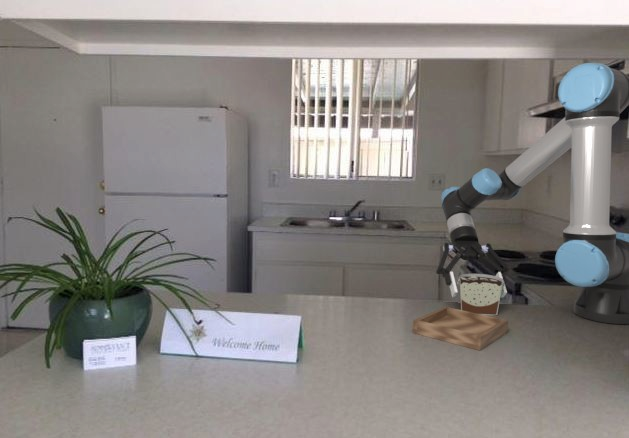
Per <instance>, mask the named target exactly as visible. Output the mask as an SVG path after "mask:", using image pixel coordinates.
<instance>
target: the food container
mask: <svg viewBox="0 0 629 438" xmlns="http://www.w3.org/2000/svg"><path fill="white" fill-rule="evenodd" d="M457 279H458V280H457V282H456V286H457V285H459V301H460V310H463V311H468V312H472V313H477V314H482V315H486V316H493V315H497V316H498V312H499V308H500V307H499V306H500V301H501V291H502V286H503V287H506V284H505V285H504V281H503V279H502V278H500V277H496V275H491V274H484V273H464V274H460V275H459V277H458V278H457Z"/></svg>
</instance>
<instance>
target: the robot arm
mask: <svg viewBox="0 0 629 438" xmlns="http://www.w3.org/2000/svg"><path fill="white" fill-rule="evenodd" d="M557 89H558V90H557V96H558V101H559V103H560V104H561V106H562V107H563V108H564V110H565V112H564V113H565V116H564V117H563V118H561V119H560V120H559V121H558V122H557V123H556V124H555V125H554V126H553V127H551V128H550V129H549V130H548V131H547V132H546V133H545V134H543V136H541V137H540V138H539V139H538V140H537V141H535V142H534V143H533V144H532V145H531V146H529V147H528V148H527V149H526V150H525V151H524V152H523V153H521V154H520V155H519V156H518V157H517V158H516V159H514V161H512V162H511V163H509V165H507V166H506V168H504V169H503V170H502V171H501V172H500V173H499V174H498V173H496V171H494V170H493V169H491V168H488V167H485V168H482V169H481V170H480V171H478V172H477V173H475V174H474V175H473V176H472V177H471V178H470V179H469V180H467V182H465V183H463V185H461V186H451V187H449V188H446V189H445V190H444V191H442V193H441V196H440V201H441V208H442V210H443V213H444V217H445V223H446V225H447V229H448V230H447V231H448V234H449V238H450V243H451V245H450V244H449V242H444V244H443V246H442V248H441V249H442V255H441V258H440V260H439V264H438V266H437V269H436V271H435V272H436V274H437V275H441V277H442V278H444V281H445V284H446V286H449V289H450V294H451V298H456V296H457V295H458V293H459V292H458V291H459V290H458V287H457V282H456V279H455V276H454V275H455V274H454V272H453V271H452V270H453V269H454V267H455V265H456V264H458V262H459V261H460V259H461V260H462V261H476V262H477V263H481V264H482V265H483V266H484V267H485V268H487V269H488V270H489V271H490V272H492V273H493V274H494V275H495V276H496V277H500V278H502V279H503V281H504V285H505V287H503V286H502V291H501V296H500V299H501V298H504V297H505V296H506V295H507V293H508V291H507V287H506V284H507V279H506V276H505V275H507V274H508V273H509V271H510V267H509V266H508V264H506V262H505V261H504V260H503V259H502V258H501V257H500V256H499V254H498V253H497V252H495V250H494V249H493V247H492V245H491V243H486V244H485V245H481V244H480V242H479V237H478V234H477V230H476V227H475V224H474V220H473V217H472V213H471V211H472V210H474V209H475V208H476V207H478V206H479V205H480V204H482V203H483V202H485V201H508V200H511V199H515V198H516V197H518V196H519V195H520V193H521V190H522V188H523V187H524V186H525V185H527V183H529V182H531V181H532V180H533V179H534V178H535V177H536V176H538V175H539V174H540V173H541V172H543V171H544V170H545V169H546V168H547V167H548V166H550V165H552V164H553V163H554V162H555V161H556V160H558V159H559V158H560V157H561V156H562V155H564V154H566V153H567V152H568V151H569V150H570V149H571V158H570V160H571V161H570V202H569V204H570V205H569V225H568V226H567V227H565V228H564V229H563V230H562V231H563V232H562V245H561V246H559V247H558V248H557V251H556V254H555V256H554V257H555V258H554V263H555V268H556V270H557V272H558V274H559V275H560V276H561V277H562V278H563V280H564V281H566V282H567V283H569V284H571V285H573V286H575V287H579V288H580V287H581V288H580V290H579V292H578V295H577V297H576V298H575V301H574V304H573V311H572V312H573V313H574V314H576V316H578V317H580V318H584V319H587V320H591V321H594V322H600V323H605V324H606V323H607V324H616V325H629V233H625V232H617V231H616V230H615V229H613V227H612V226H610V209H611V208H610V206H611V203H610V201H611V171H612V170H611V168H612V165H611V164H612V132H613V131H612V130H613V129H612V127H613V125H615V124H616V123H617V122H618V121H619V120H620V114H622V112H623V111H624V110H625V109H626V108H627V107H628V106H629V76H628V75H627V74H626V73H625V72H623V71H621V70H619V69H615V68H612V67H609V66H608V65H606V64H605V63H599V62H584V63H581V64H579V65H576V66H574V67H572V68H571V69H570V70H569V71H567V73H566V74H565V75H564V76H563V77H562V79H561V81H560V83H559V86H558V88H557ZM451 251H452V252H453V253H454V254H455V256H453V258H452V259H451V261H450V262H449V264H448V265H447V266H446V267H444V266H445V263H446V261H447V258H448V255H449V253H451Z"/></svg>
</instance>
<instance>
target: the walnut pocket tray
mask: <svg viewBox="0 0 629 438" xmlns="http://www.w3.org/2000/svg"><path fill="white" fill-rule="evenodd" d="M412 323H413V324H412V334H417V335H420V336H423V337H427V338H431V339H435V340H439V341H442V342H446V343H450V344H454V345H457V346H462V347H465V348H469V349H472V350H477V351H482V350H483V349H485V348H486V347H488V346H489V345H491V344H493V343H494V342H495V341H497V340H498V339H500V338H501V337H503V336H504V334H505V335H506V334H507V332H508V331H509V319H504V318H499V317H496V316H492V315H482V314H477V313H472V312H468V311H463V310H461V309H458V308H453V307H449V306H444V307H441V308H438V309H436V310H433V311H432V312H429V313H427V314H425V315H423V316H420V317H418V318H416V319H414V320H412ZM508 333H509V332H508Z"/></svg>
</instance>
